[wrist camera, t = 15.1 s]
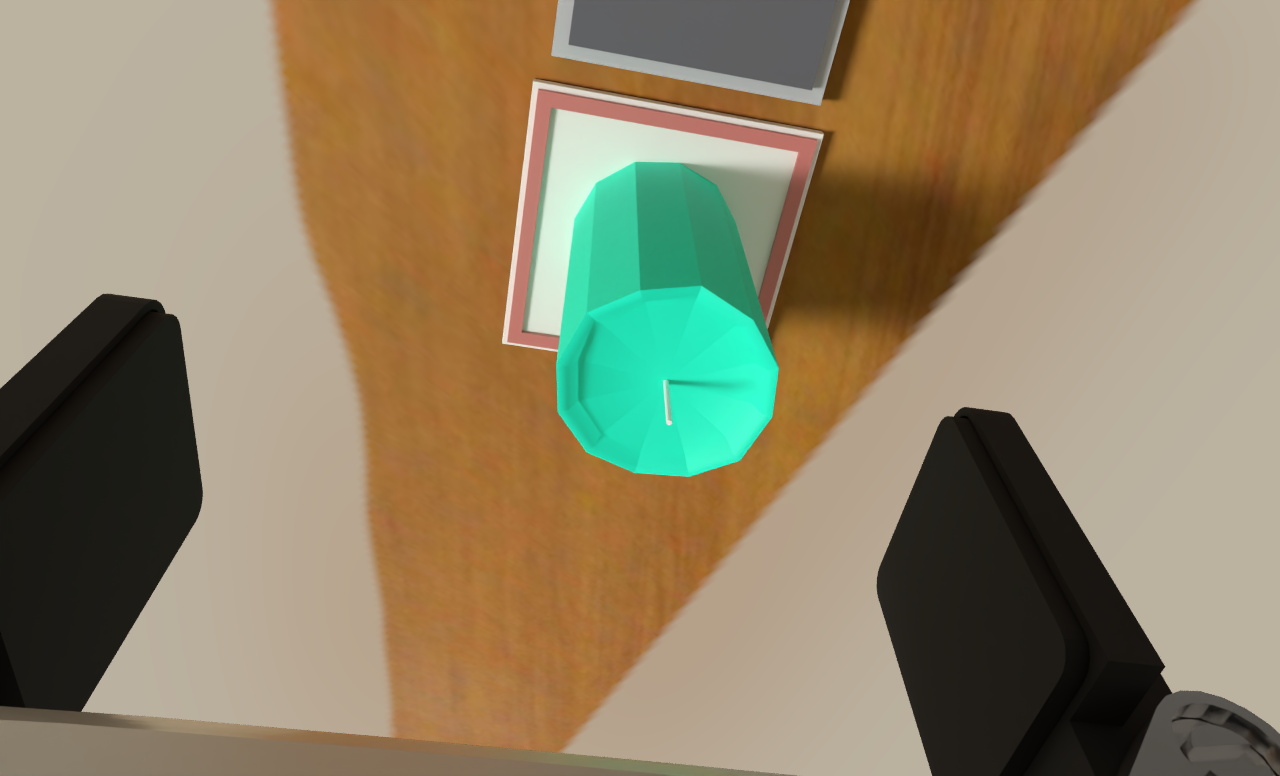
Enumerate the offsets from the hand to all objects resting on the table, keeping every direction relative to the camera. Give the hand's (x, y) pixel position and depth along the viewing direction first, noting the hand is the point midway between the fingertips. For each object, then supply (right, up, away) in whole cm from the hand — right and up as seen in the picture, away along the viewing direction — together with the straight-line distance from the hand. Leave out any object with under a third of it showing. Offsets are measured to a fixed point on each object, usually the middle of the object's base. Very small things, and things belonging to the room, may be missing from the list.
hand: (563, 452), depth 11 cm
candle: (+2, +6, +22) cm, 23 cm away
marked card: (+1, +6, +22) cm, 23 cm away
